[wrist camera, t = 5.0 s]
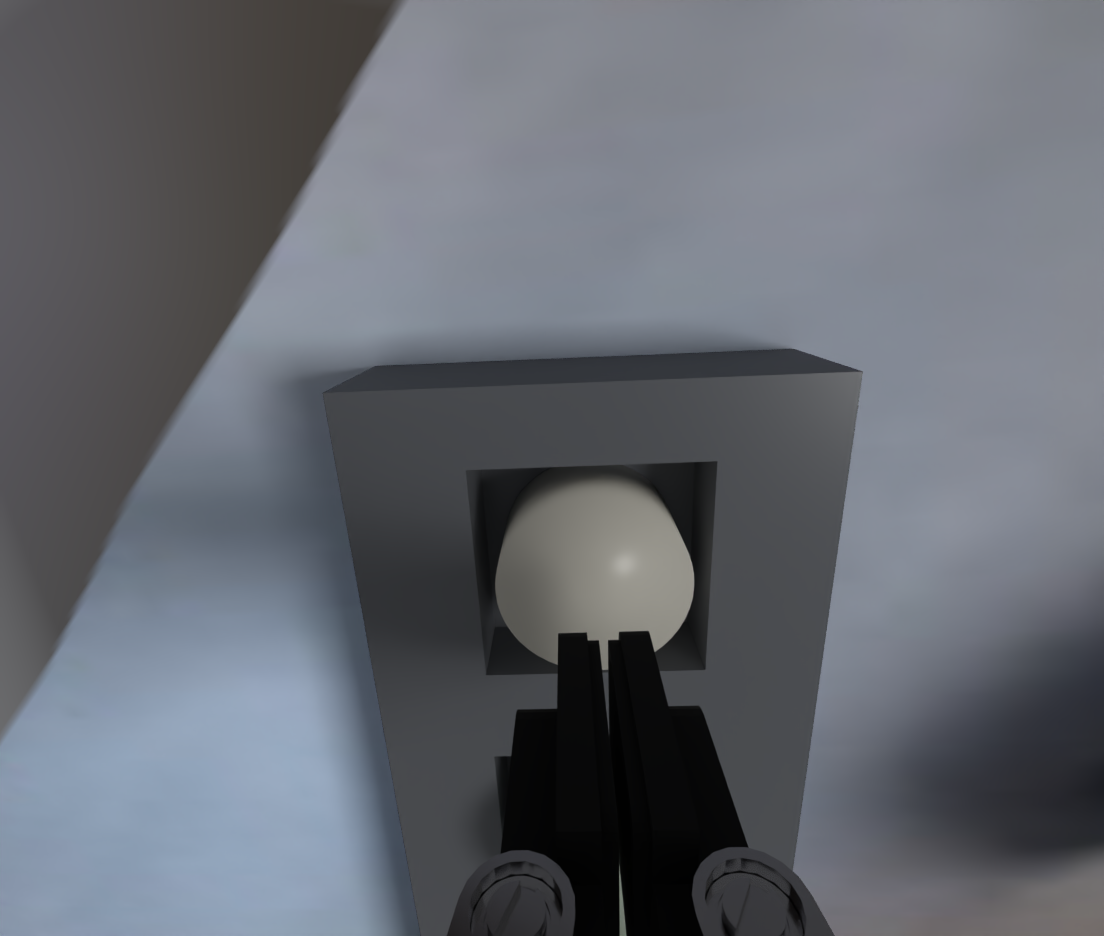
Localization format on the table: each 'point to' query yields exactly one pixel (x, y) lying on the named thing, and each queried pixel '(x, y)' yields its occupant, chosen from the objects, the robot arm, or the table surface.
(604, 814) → the robot arm
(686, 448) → the button panel
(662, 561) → the cream button
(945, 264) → the table surface
